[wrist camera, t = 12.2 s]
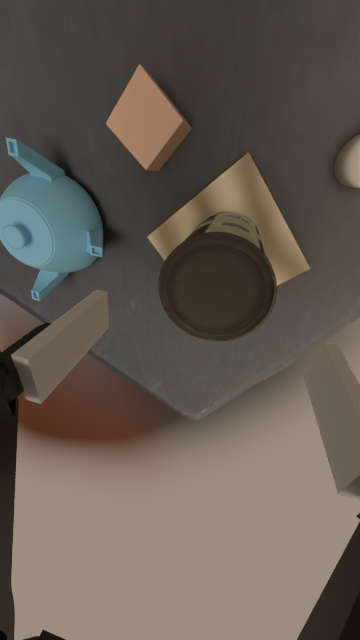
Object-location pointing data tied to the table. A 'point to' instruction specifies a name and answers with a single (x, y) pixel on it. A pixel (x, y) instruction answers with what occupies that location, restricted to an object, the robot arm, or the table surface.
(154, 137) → the terracotta block
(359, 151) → the off-white cylinder
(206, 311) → the coffee can
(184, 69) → the table surface
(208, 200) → the birch board
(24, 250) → the teapot
